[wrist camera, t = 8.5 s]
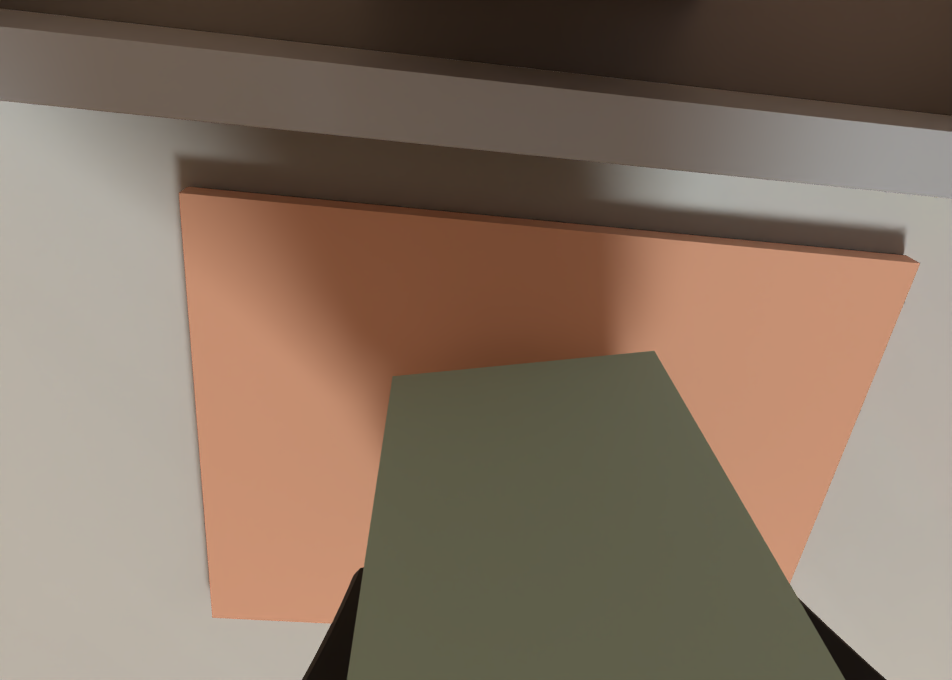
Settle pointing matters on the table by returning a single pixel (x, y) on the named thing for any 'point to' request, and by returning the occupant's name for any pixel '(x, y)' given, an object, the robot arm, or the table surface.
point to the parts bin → (467, 104)
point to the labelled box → (566, 537)
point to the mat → (492, 360)
